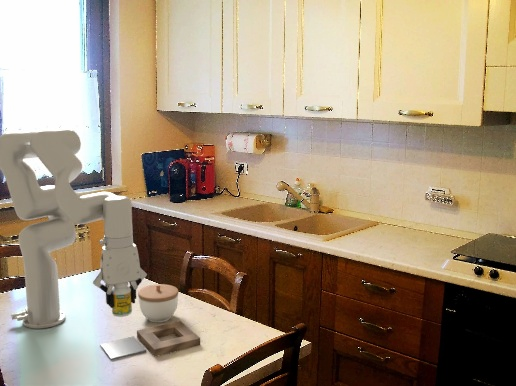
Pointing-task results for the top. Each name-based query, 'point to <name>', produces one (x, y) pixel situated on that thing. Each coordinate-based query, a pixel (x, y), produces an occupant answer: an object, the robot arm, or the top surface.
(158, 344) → the socket board
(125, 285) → the supplement bottle
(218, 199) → the top surface
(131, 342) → the coaster
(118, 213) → the robot arm
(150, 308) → the lidded bowl
